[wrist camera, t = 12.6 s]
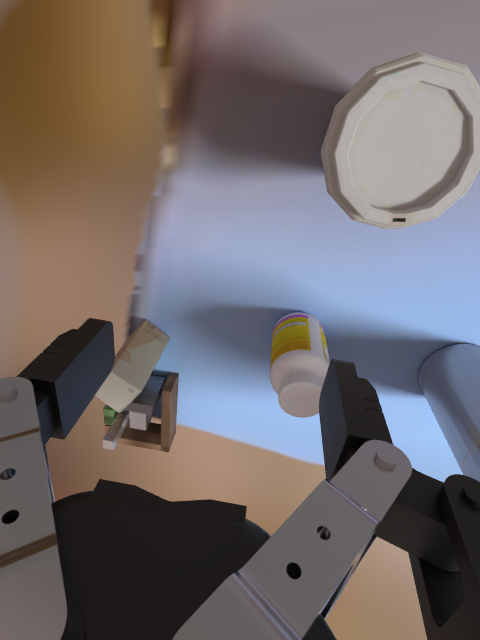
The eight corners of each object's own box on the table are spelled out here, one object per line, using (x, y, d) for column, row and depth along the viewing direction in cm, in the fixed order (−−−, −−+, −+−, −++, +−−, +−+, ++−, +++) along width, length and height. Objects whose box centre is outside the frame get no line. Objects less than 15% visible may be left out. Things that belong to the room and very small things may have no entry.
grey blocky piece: (165, 377, 53) (145, 420, 45) (164, 414, 56) (145, 459, 49) (126, 370, 53) (99, 412, 45) (127, 407, 56) (103, 451, 49)
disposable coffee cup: (314, 75, 34) (331, 50, 21) (437, 70, 32) (537, 41, 19) (306, 195, 39) (316, 235, 26) (412, 194, 38) (478, 237, 25)
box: (146, 318, 49) (111, 368, 39) (171, 337, 50) (143, 391, 40) (125, 341, 51) (87, 393, 41) (149, 359, 52) (118, 414, 42)
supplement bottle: (262, 336, 48) (254, 403, 37) (293, 300, 45) (295, 361, 34) (302, 362, 49) (307, 434, 38) (335, 329, 46) (350, 396, 35)
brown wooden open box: (178, 373, 53) (169, 395, 48) (175, 432, 59) (167, 456, 54) (115, 362, 53) (101, 384, 49) (119, 422, 59) (106, 445, 55)
